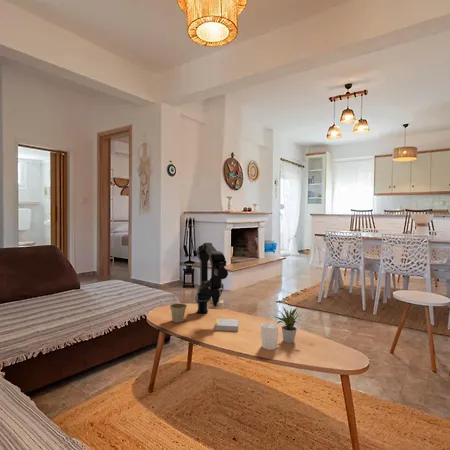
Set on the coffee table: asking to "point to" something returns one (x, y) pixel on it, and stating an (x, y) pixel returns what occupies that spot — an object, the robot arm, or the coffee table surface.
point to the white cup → (269, 335)
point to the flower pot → (178, 312)
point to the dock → (227, 324)
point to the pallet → (218, 306)
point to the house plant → (288, 325)
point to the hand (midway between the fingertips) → (215, 304)
